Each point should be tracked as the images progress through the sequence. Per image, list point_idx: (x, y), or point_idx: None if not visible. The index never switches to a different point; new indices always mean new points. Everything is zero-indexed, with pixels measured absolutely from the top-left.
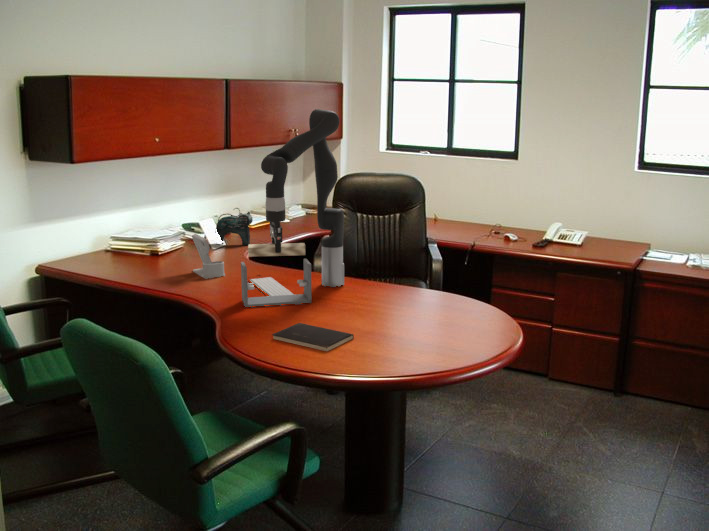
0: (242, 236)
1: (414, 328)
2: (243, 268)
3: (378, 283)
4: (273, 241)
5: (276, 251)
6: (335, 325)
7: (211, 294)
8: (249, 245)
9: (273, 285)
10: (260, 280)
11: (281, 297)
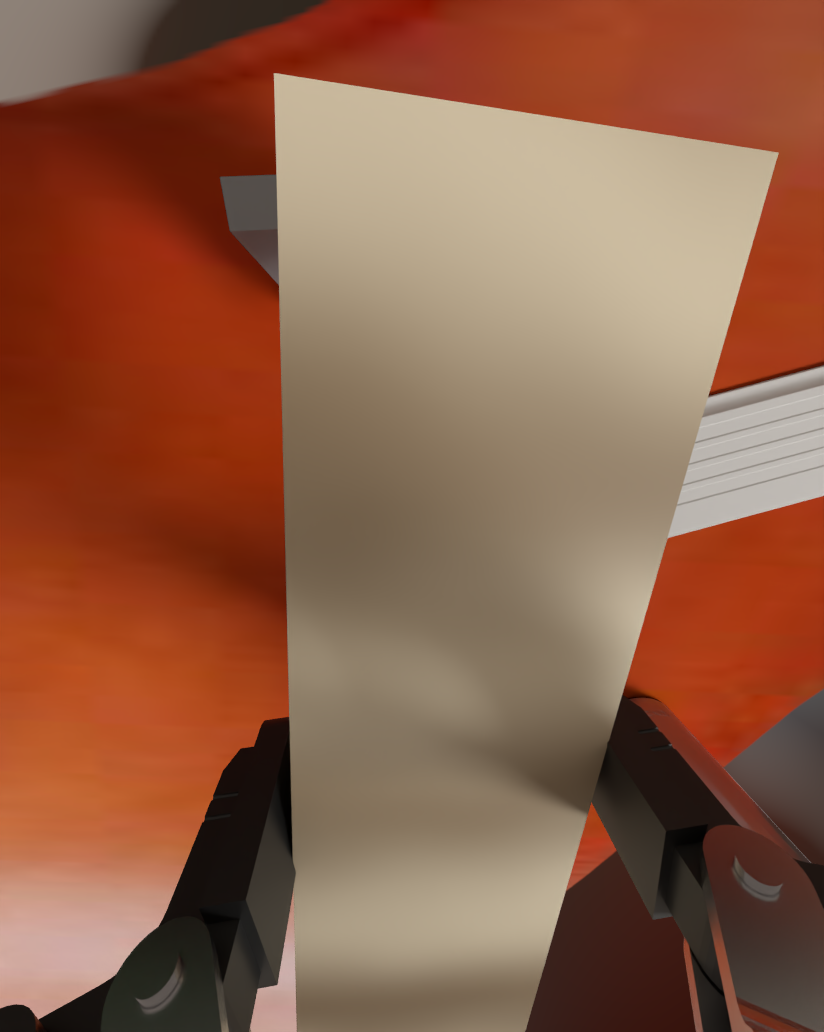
0: None
1: (7, 931)
2: (246, 182)
3: (589, 865)
4: (632, 808)
5: (264, 742)
6: (7, 717)
7: (664, 70)
8: (606, 173)
9: (689, 494)
10: (812, 429)
11: None
